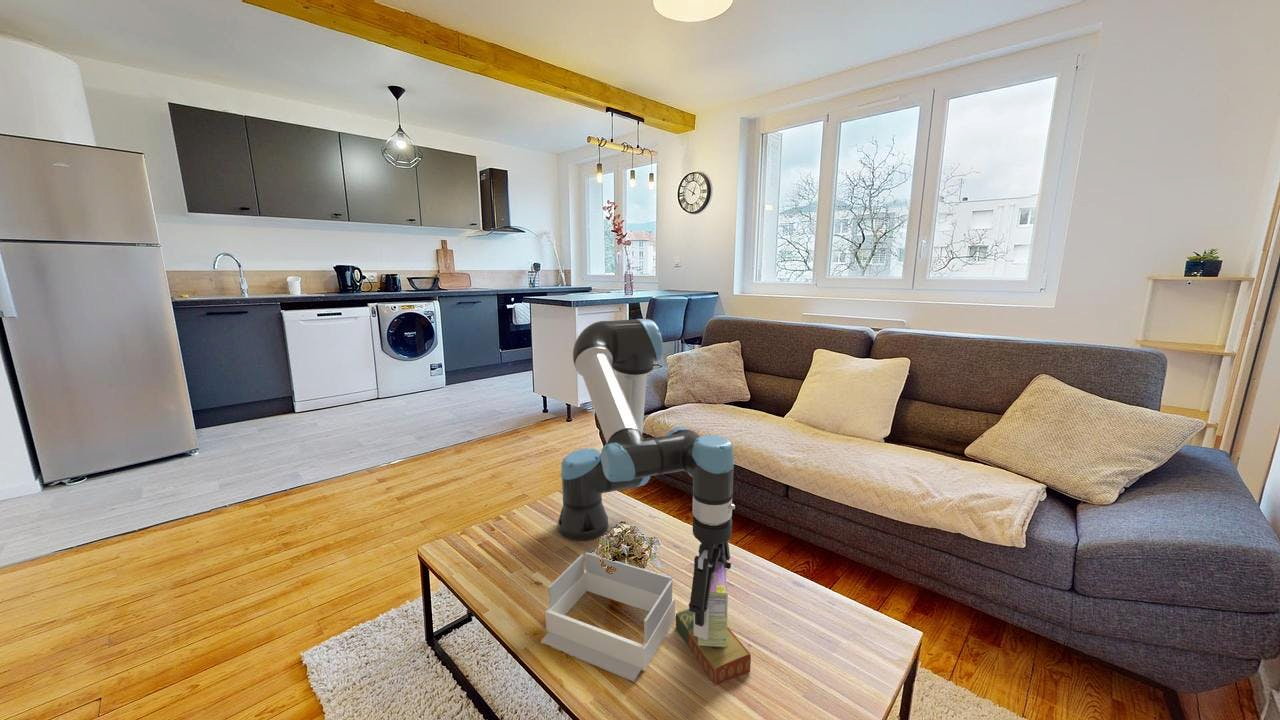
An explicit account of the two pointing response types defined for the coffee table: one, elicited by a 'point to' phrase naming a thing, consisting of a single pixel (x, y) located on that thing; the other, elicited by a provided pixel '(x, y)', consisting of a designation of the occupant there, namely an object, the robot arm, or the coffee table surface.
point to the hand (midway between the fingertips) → (710, 615)
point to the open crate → (619, 586)
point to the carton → (715, 652)
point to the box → (717, 610)
